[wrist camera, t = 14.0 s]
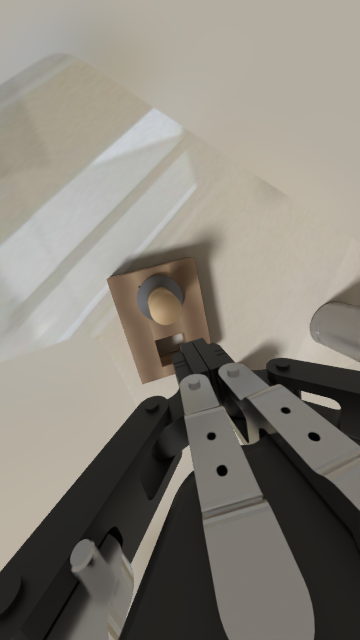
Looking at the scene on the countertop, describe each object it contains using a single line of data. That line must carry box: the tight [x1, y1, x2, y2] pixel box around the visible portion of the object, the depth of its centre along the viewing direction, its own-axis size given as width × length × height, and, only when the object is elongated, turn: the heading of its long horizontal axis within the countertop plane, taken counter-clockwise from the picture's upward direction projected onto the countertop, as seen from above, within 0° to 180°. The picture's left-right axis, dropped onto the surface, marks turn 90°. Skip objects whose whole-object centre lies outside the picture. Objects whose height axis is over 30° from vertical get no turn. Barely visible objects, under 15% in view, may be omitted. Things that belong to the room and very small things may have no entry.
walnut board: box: [107, 257, 211, 384], centre depth 35 cm, size 13×18×4 cm
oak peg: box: [137, 275, 183, 325], centre depth 30 cm, size 7×7×11 cm
